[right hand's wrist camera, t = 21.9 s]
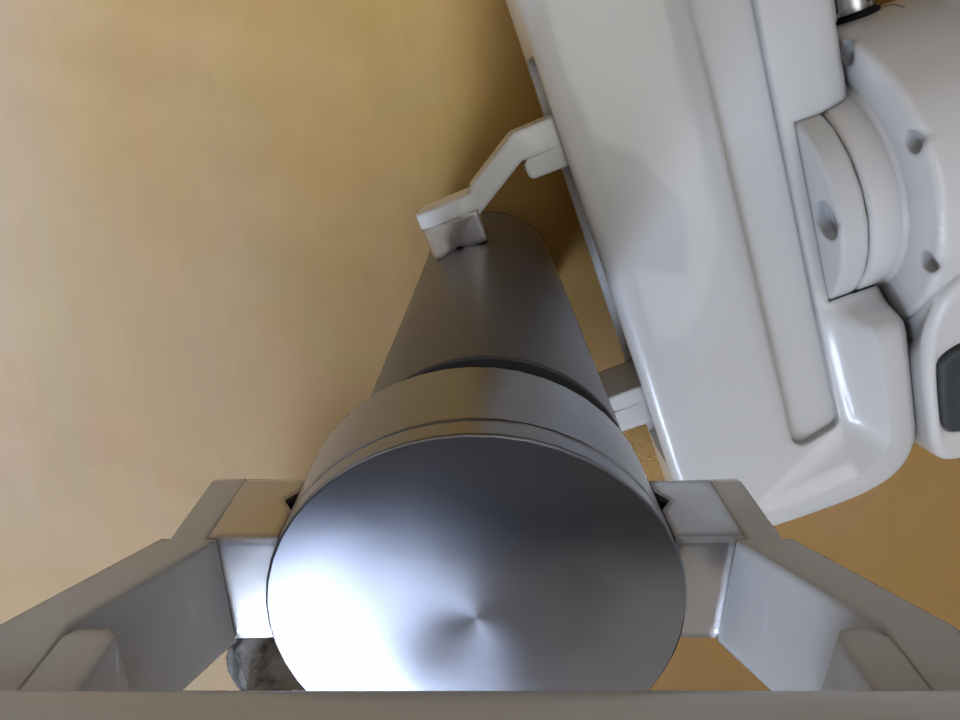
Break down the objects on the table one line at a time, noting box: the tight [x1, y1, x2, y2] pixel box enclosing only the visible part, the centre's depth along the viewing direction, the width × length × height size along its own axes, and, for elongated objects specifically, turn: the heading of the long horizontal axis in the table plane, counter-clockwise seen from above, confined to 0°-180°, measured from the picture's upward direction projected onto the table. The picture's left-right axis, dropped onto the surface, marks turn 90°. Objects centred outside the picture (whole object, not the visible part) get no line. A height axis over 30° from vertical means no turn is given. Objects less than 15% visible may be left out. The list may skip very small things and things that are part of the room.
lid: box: [266, 367, 687, 691], centre depth 9 cm, size 6×6×2 cm
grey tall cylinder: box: [371, 212, 622, 432], centre depth 17 cm, size 5×5×17 cm
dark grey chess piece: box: [226, 637, 306, 691], centre depth 26 cm, size 6×6×12 cm
